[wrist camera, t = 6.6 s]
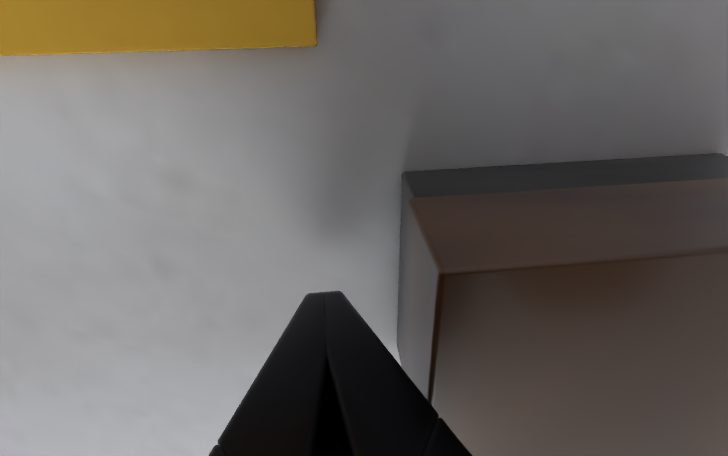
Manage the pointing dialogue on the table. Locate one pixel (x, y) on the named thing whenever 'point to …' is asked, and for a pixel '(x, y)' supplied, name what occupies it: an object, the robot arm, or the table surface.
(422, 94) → the table surface
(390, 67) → the table surface
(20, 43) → the cloth
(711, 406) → the brown rectangular block
